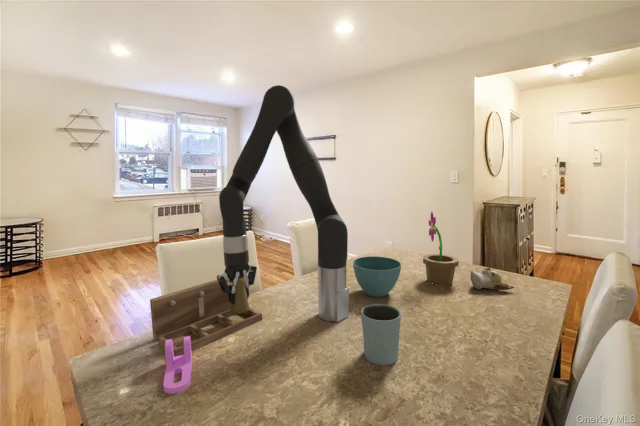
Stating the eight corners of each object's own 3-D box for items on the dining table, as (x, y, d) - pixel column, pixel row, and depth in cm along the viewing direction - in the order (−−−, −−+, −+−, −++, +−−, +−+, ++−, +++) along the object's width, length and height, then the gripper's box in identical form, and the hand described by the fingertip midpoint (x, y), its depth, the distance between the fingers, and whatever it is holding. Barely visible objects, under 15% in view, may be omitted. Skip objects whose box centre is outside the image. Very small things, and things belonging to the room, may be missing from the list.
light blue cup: (392, 372, 77) (393, 324, 75) (353, 359, 82) (354, 314, 80) (405, 351, 85) (406, 308, 84) (369, 341, 90) (370, 300, 89)
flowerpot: (418, 275, 145) (421, 209, 141) (451, 276, 143) (455, 209, 139) (426, 287, 131) (428, 214, 127) (462, 288, 129) (466, 214, 125)
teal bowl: (406, 290, 128) (407, 260, 126) (390, 306, 113) (391, 272, 111) (364, 282, 138) (365, 254, 136) (344, 296, 123) (344, 265, 121)
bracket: (168, 363, 81) (166, 337, 80) (191, 358, 83) (190, 333, 82) (162, 396, 69) (159, 366, 68) (190, 390, 71) (188, 361, 70)
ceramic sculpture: (465, 263, 133) (500, 265, 134) (463, 283, 134) (498, 285, 135) (478, 271, 123) (517, 273, 123) (475, 293, 124) (514, 295, 124)
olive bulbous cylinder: (244, 314, 100) (242, 280, 98) (226, 312, 101) (224, 279, 100) (252, 305, 106) (250, 273, 104) (235, 304, 107) (233, 273, 105)
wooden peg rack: (262, 319, 104) (260, 284, 102) (176, 358, 83) (173, 314, 82) (236, 307, 114) (234, 274, 112) (153, 339, 93) (149, 299, 91)
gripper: (222, 256, 93) (226, 312, 95) (261, 246, 104) (264, 297, 106) (208, 252, 98) (213, 305, 100) (247, 243, 108) (250, 291, 111)
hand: (239, 301), depth 103 cm, fingers closed on olive bulbous cylinder, 4 cm apart
